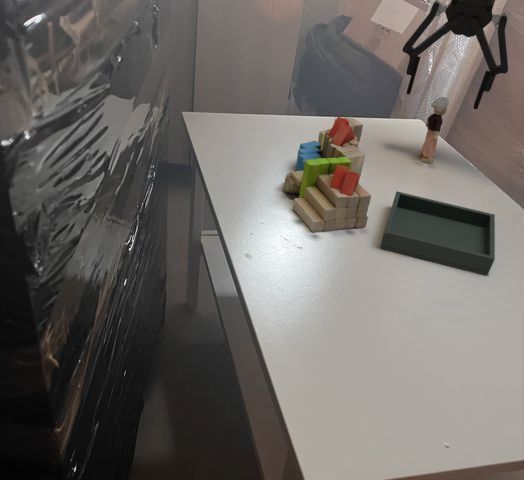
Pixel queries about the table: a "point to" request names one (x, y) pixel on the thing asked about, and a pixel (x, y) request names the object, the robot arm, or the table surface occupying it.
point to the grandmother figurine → (433, 129)
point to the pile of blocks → (330, 179)
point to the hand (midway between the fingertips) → (441, 99)
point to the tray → (441, 233)
